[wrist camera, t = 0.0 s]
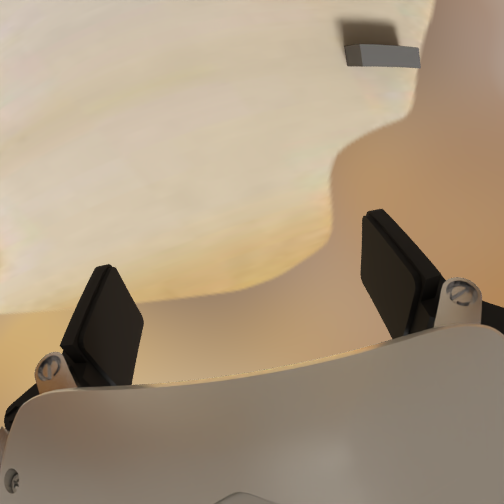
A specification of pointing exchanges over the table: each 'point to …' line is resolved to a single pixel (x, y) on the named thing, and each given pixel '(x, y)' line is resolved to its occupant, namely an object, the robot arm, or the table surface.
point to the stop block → (382, 55)
